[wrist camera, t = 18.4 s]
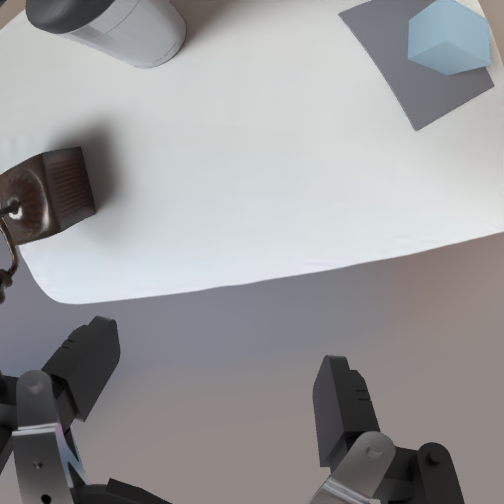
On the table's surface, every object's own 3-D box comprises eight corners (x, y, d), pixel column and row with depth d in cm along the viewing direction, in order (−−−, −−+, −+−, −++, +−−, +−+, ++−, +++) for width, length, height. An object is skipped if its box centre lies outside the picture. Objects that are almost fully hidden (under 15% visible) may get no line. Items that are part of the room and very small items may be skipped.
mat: (338, 14, 27) (339, 13, 27) (428, -16, 23) (430, -17, 22) (415, 130, 32) (416, 130, 31) (492, 86, 28) (494, 85, 27)
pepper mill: (32, 167, 36) (-54, 192, 19) (81, 144, 35) (-14, 160, 18) (57, 257, 42) (-15, 312, 25) (107, 247, 40) (32, 310, 23)
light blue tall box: (447, 75, 28) (490, 65, 19) (407, 59, 28) (446, 40, 19) (447, 37, 26) (487, 20, 16) (408, 20, 26) (443, -5, 16)
